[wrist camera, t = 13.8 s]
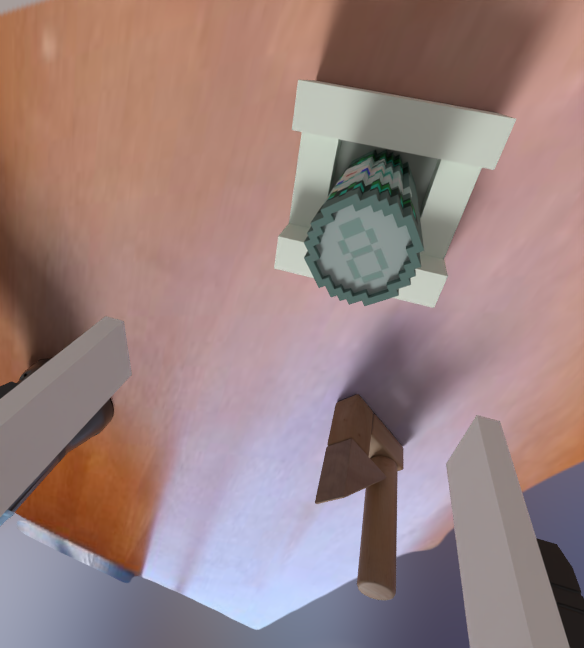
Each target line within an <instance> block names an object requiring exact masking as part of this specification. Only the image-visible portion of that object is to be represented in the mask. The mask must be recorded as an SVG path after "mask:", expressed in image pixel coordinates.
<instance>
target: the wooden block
mask: <svg viewBox="0 0 584 648" xmlns="http://www.w3.org/2000/svg"><path fill="white" fill-rule="evenodd" d="M402 469H403V447H402V446H401V444H400V443H399V442H398V441H397V440H396V438H395V437H394V436H393V435H392V434H391V433H390V431H389V430H388V429H387V428H386V427H385V425H384V424H383V423H382V422H381V421H380V419H379V418H378V417H377V416H376V415H375V414H373V411H372V410H371V409H370V407H369V406H368V405H367V404H366V403H365V401H364V400H363V399H362V398H361V397H360V396H359V395H358V394H356V395H354V396H351V397H349V398H346V399H344V400H341V401H339V402H337V403H336V406H335V411H334V415H333V420H332V425H331V430H330V434H329V439H328V447H327V448H326V452H325V457H324V462H323V467H322V471H321V476H320V481H319V486H318V490H317V495H316V500H315V503H316V504H319V503H323V502H328V501H332V500H336V499H340V498H344V497H346V496H349V495H351V494H353V493H355V492H357V491H360V490H362V489H364V488H366V492H365V502H364V513H363V524H362V535H361V546H360V557H359V568H358V579H357V585H358V589H359V590H360V591H361V593H363V594H364V595H366V596H368V597H370V598H373V599H377V600H390V599H392V598H393V597H394V596H395V593H396V534H397V471H400V470H402Z"/></svg>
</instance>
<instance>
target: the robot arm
mask: <svg viewBox="0 0 584 648" xmlns="http://www.w3.org/2000/svg"><path fill="white" fill-rule="evenodd" d="M131 375H132V372H131V366H130V359H129V352H128V346H127V339H126V333H125V326H124V321H122V320H118V319H114V318H110V317H107V316H105V317H104V318H103V319H101V320H100V321H99V322H98V323H96V324H95V325H94V326H92V327H91V328H90V329H89V330H87V331H86V332H85V333H84V334H82V335H81V336H80V337H78V338H77V339H76V340H75V341H73V342H72V343H71V344H70V345H68V346H67V347H66V348H64V349H63V350H62V351H61V352H59V353H58V354H57V355H56V356H54V357H53V358H52V359H43V360H40V361H38V362H36V363H35V364H34V365H32V366H31V367H30V368H28V369H27V370H26V371H25V372H24V373H23V374H22V376H21V377H20V380H19V381H18V382H17V383H14V382H9V383H7V384H5V385H3V386H0V526H1V525H2V524H3V523H4V522H5V521H6V520H7V519H8V518H10V517H11V516H13V514H14V512H15V511H16V510H17V509H18V507H19V506H20V505H21V504H22V503H23V502H24V501H25V500H26V499H27V497H28V496H29V495H30V494H31V493H32V492H33V491H34V490H35V488H36V487H37V486H38V485H39V484H40V483H41V482H42V481H43V480H44V478H45V477H46V476H47V475H48V474H49V473H50V472H51V471H52V469H53V468H54V467H55V466H56V465H57V464H58V463H59V462H60V461H61V460H62V458H63V457H64V456H65V455H66V454H67V453H68V452H70V451H71V450H73V449H75V448H76V447H78V446H79V445H81V444H82V443H84V442H85V441H87V440H88V439H90V438H91V437H93V436H95V435H97V434H99V433H100V432H101V431H102V430H103V429H104V428H105V427H106V426H107V425H108V423H109V422H110V421H111V420H112V417H113V407H112V404H111V401H110V398H111V396H112V395H113V394H114V393H115V392H116V391H117V390H118V389H119V388H120V387H121V386H122V384H123V383H124V382H125V381H126V380H127V379H128V378H129V377H130V376H131ZM446 467H447V474H448V482H449V490H450V497H451V505H452V512H453V520H454V528H455V535H456V543H457V551H458V558H459V566H460V573H461V581H462V589H463V596H464V604H465V612H466V620H467V627H468V635H469V643H470V648H584V598H583V596H581V590H580V587H579V584H578V581H577V579H576V576H575V573H574V571H573V568H572V566H571V565H570V563H569V562H568V560H567V559H566V557H565V556H564V554H563V553H562V551H561V550H560V548H559V547H558V545H557V544H554V543H550V542H547V541H544V540H540V539H537V538H536V536H535V533H534V530H533V527H532V524H531V520H530V517H529V514H528V510H527V507H526V504H525V501H524V497H523V494H522V491H521V488H520V484H519V481H518V478H517V475H516V472H515V468H514V465H513V462H512V459H511V455H510V452H509V449H508V446H507V442H506V439H505V436H504V433H503V429H502V426H501V423H500V421H497V420H493V419H489V418H486V417H482V416H478V415H476V417H475V419H474V420H473V422H472V423H471V425H470V427H469V428H468V430H467V431H466V433H465V435H464V436H463V438H462V439H461V441H460V443H459V444H458V446H457V447H456V449H455V451H454V452H453V454H452V455H451V457H450V459H449V460H448V462H447V463H446Z"/></svg>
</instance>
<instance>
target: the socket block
mask: <svg viewBox="0 0 584 648" xmlns="http://www.w3.org/2000/svg"><path fill="white" fill-rule="evenodd" d="M515 121H516V119H515V118H512V117H508V116H505V115H502V114H499V113H495V112H489V111H484V110H478V109H472V108H467V107H461V106H456V105H450V104H444V103H439V102H433V101H428V100H422V99H416V98H411V97H405V96H400V95H394V94H388V93H383V92H377V91H372V90H366V89H360V88H355V87H349V86H344V85H338V84H332V83H327V82H321V81H315V80H298V86H297V93H296V101H295V109H294V117H293V125H292V130H295V131H300V132H302V135H301V142H300V149H299V156H298V163H297V170H296V177H295V184H294V191H293V198H292V205H291V212H290V220H289V224H288V225H287V226H286V228H285V229H284V230H283V231H282V232H281V234H280V235H279V236H278V243H277V251H276V259H275V267H274V268H275V269H279V270H283V271H287V272H291V273H295V274H299V275H303V276H307V277H311V278H314V277H313V275H312V273H311V271H310V269H309V267H308V265H307V263H306V261H305V259H304V256H305V255H306V253H307V251H308V250H307V248H306V246H305V244H304V241H305V239H306V238H307V236H308V234H307V232H308V230H309V229H310V227H311V224H310V223H311V221H312V220H313V218H314V217H315V215H316V214H317V212H318V211H319V209H320V208H321V206H322V205H323V203H324V202H325V200H326V199H327V197H328V196H329V194H330V193H331V191H332V190H333V188H334V187H335V185H336V184H337V182H338V181H339V179H340V177H341V176H342V174H343V173H344V171H345V170H346V169H348V167H349V165H350V164H351V162H352V161H353V160H355V159H357V158H359V157H361V156H363V155H365V154H367V153H369V152H371V151H373V150H376V152H377V154H378V153H380V152H382V151H384V150H386V149H387V152H388V154H390V153H392V152H393V153H394V156H397V155H399V154H400V157H401V160H402V163H403V164H404V163H406V162H408V164H409V167H410V170H411V173H412V176H413V178H414V181H415V184H416V191H417V199H418V207H419V214H420V222H421V230H422V238H423V245H424V251H422V252H420V260H421V267H420V268H417V269H415V270H416V276H415V277H412V278H411V285H409V286H406V287H403V288H399V296H396V297H393V298H396V299H400V300H404V301H408V302H412V303H416V304H420V305H424V306H428V307H432V308H434V307H435V304H436V302H437V300H438V298H439V295H440V293H441V291H442V288H443V286H444V284H445V282H446V279H447V277H448V275H447V271H446V267H445V262H444V257H445V255H446V253H447V250H448V248H449V245H450V243H451V241H452V238H453V236H454V233H455V231H456V228H457V226H458V224H459V221H460V219H461V216H462V214H463V212H464V209H465V207H466V204H467V202H468V200H469V197H470V195H471V192H472V190H473V188H474V185H475V183H476V180H477V178H478V176H479V173H480V171H481V168H487V169H492V170H494V169H495V167H496V164H497V162H498V160H499V158H500V155H501V153H502V151H503V148H504V146H505V144H506V142H507V139H508V137H509V135H510V132H511V130H512V128H513V125H514V123H515Z"/></svg>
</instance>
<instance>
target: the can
mask: <svg viewBox="0 0 584 648" xmlns="http://www.w3.org/2000/svg"><path fill="white" fill-rule="evenodd" d="M310 224H311V227H310V229H309V230H308V232H307V234H308V236H307V238H306V239H305V241H304V244H305V246H306V248H307V250H308V251H307V253H306V255H305V256H304V259H305V261H306V263H307V265H308V267H309V269H310V271H311V273H312V275H313V277H314V279H315V281H316V283H317V285H318V287H319V288H320V287H323V286H326V288H327V290H328V292H329V295H330V297H333V296H336V295H337V296H338V298H339V300H340V301H341V300H344V299H347V301H348V304H352V303H356V302H359V301H362V302H363V304H364V306H367V305H370V304H373V303H376V302H380V301H383V300H386V299H389V298H393V297H396V296H399V288H403V287H406V286H409V285H411V278H412V277H415V276H416V270H415V269H417V268H420V267H421V260H420V252H422V251H424V245H423V238H422V230H421V222H420V214H419V207H418V199H417V191H416V184H415V181H414V178H413V176H412V173H411V170H410V167H409V164H408V162H406V163H404V164H403V163H402V160H401V157H400V154H399V155H397V156H394V153H393V152H392V153H390V154H388V152H387V149H386V150H384V151H382V152H380V153H378V154H377V152H376V150H373V151H371V152H369V153H367V154H365V155H363V156H361V157H359V158H357V159H355V160H353V161H352V162H351V164H350V165H349V167H348V169H346V170H345V171H344V173H343V174H342V176H341V177H340V179H339V181H338V182H337V184H336V185H335V187H334V188H333V190H332V191H331V193H330V194H329V196H328V197H327V199H326V200H325V202H324V203H323V205H322V206H321V208H320V209H319V211H318V212H317V214H316V215H315V217H314V218H313V220H312V221H311V223H310Z"/></svg>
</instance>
